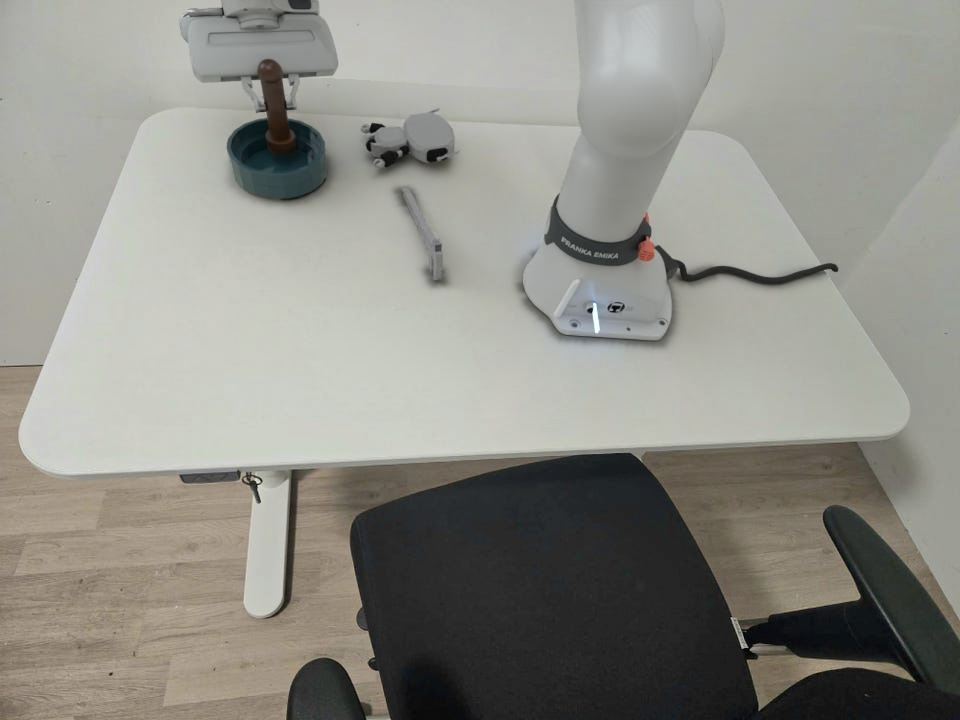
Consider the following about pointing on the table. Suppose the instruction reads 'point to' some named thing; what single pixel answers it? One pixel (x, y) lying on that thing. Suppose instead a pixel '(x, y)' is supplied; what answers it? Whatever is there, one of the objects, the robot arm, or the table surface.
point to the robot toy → (412, 139)
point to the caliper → (426, 235)
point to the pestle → (276, 108)
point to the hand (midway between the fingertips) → (276, 110)
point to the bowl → (277, 160)
